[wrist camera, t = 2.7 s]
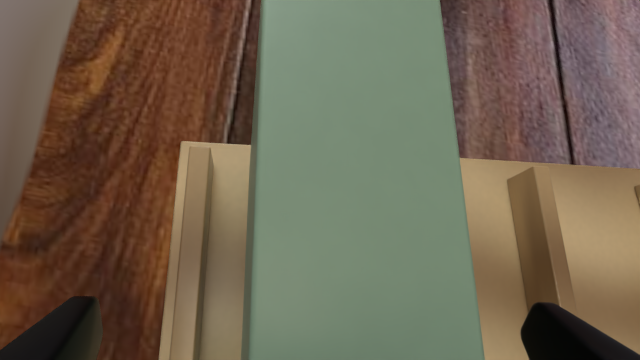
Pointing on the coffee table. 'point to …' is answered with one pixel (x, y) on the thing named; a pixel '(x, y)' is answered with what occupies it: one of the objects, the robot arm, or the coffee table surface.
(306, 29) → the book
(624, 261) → the rack
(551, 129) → the coffee table surface
